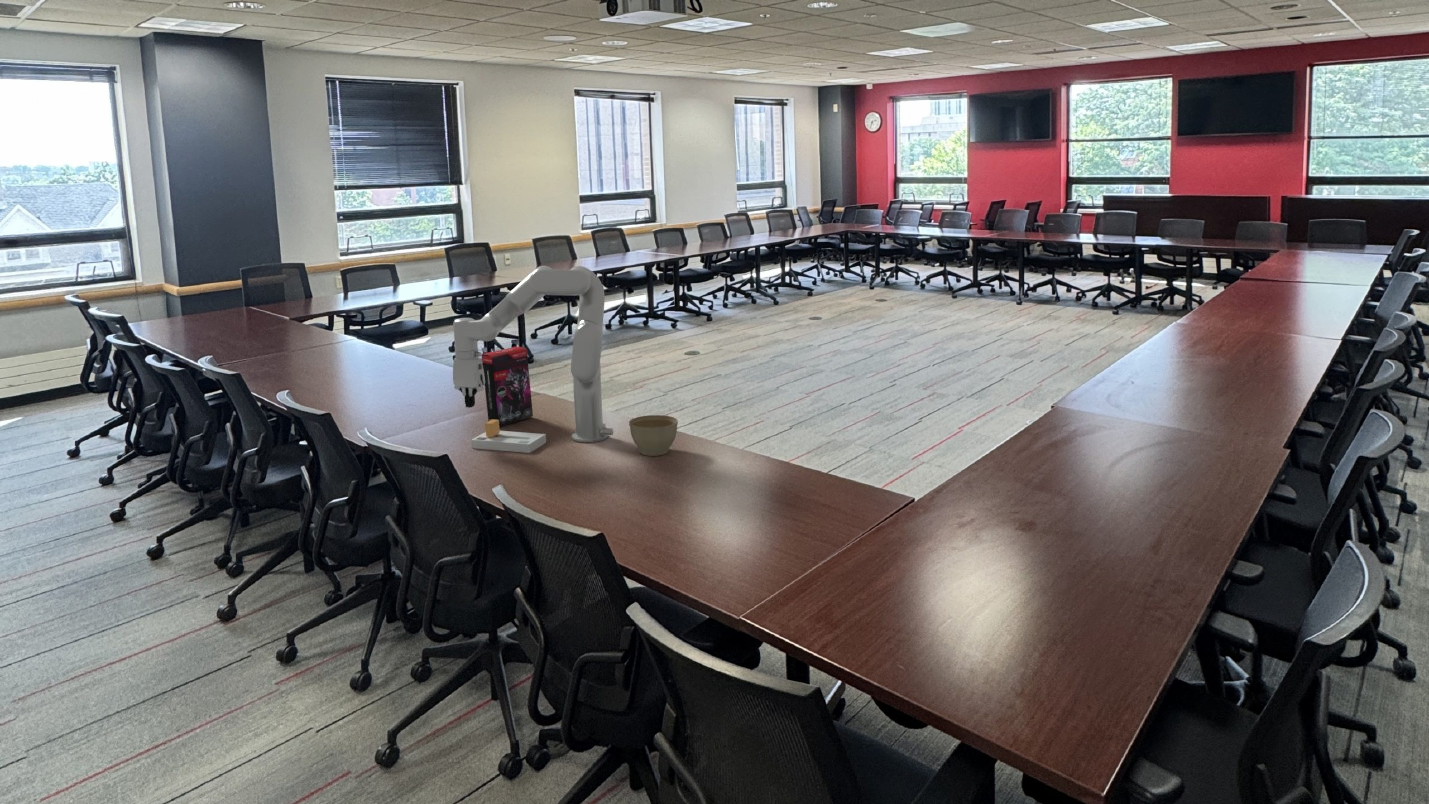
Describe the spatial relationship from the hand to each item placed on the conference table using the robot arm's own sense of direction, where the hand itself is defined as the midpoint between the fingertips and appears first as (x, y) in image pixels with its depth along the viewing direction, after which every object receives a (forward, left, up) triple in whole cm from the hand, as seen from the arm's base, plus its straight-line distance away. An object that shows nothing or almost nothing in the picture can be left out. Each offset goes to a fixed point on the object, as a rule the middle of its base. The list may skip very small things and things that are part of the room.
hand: (470, 406), depth 317 cm
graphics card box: (+1, -27, -13) cm, 30 cm away
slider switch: (-14, 0, -13) cm, 19 cm away
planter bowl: (-65, -5, -13) cm, 67 cm away
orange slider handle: (-8, 0, -12) cm, 14 cm away
